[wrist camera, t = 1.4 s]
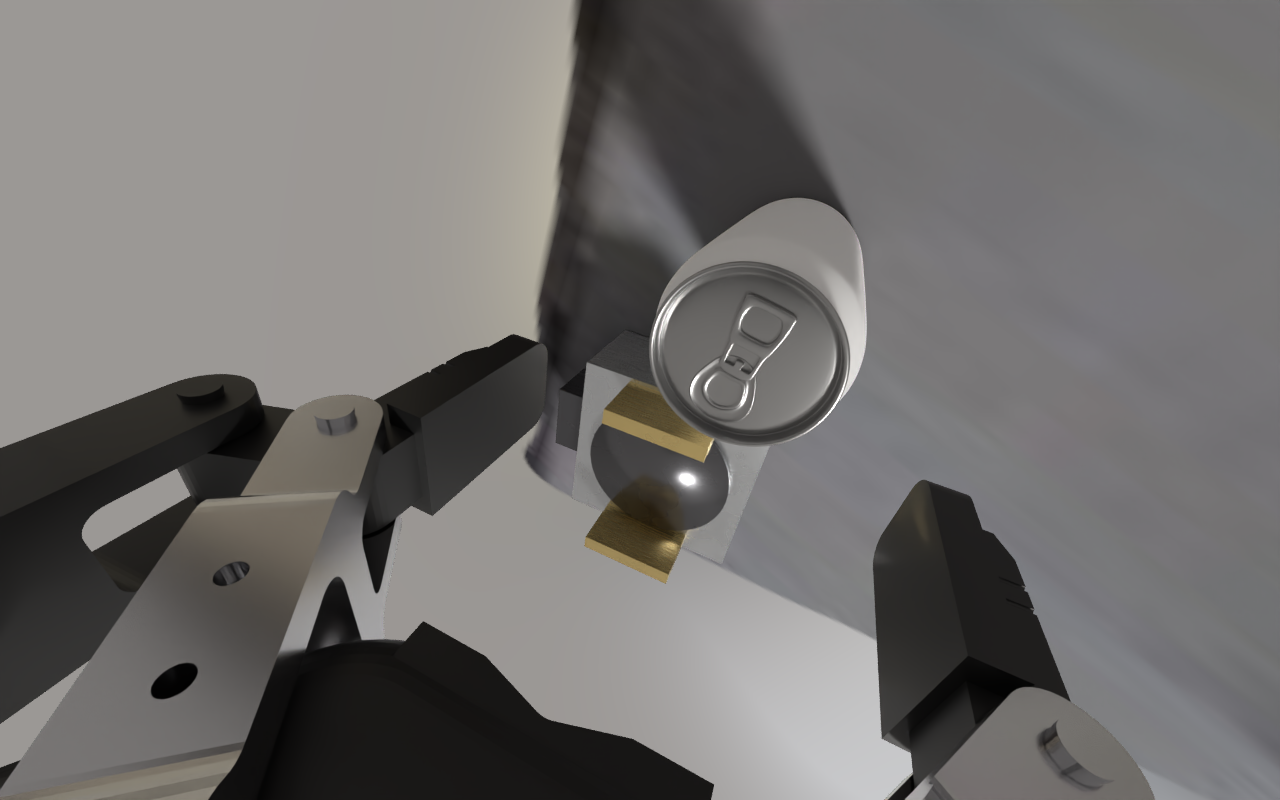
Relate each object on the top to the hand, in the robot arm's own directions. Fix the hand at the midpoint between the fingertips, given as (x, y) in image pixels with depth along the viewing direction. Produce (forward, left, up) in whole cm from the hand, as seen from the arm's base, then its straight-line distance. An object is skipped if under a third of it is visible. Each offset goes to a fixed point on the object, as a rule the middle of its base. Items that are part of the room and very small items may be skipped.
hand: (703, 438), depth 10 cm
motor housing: (+11, -3, -16) cm, 20 cm away
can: (0, 0, -16) cm, 16 cm away
